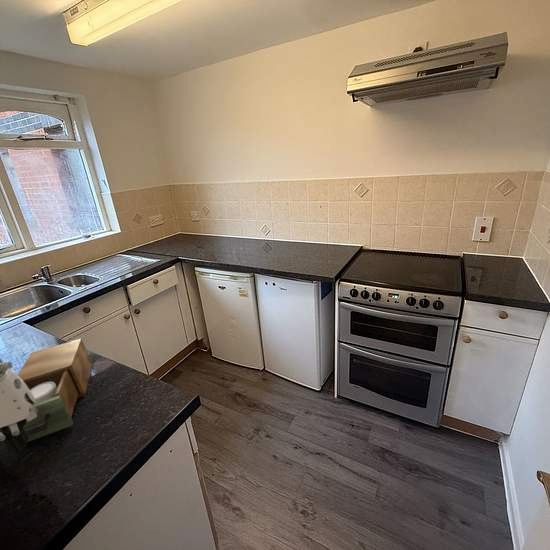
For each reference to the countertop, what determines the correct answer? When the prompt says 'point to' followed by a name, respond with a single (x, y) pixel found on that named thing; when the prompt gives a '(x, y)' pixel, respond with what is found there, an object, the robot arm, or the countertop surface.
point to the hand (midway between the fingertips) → (21, 446)
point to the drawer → (53, 405)
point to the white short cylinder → (44, 391)
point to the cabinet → (60, 363)
